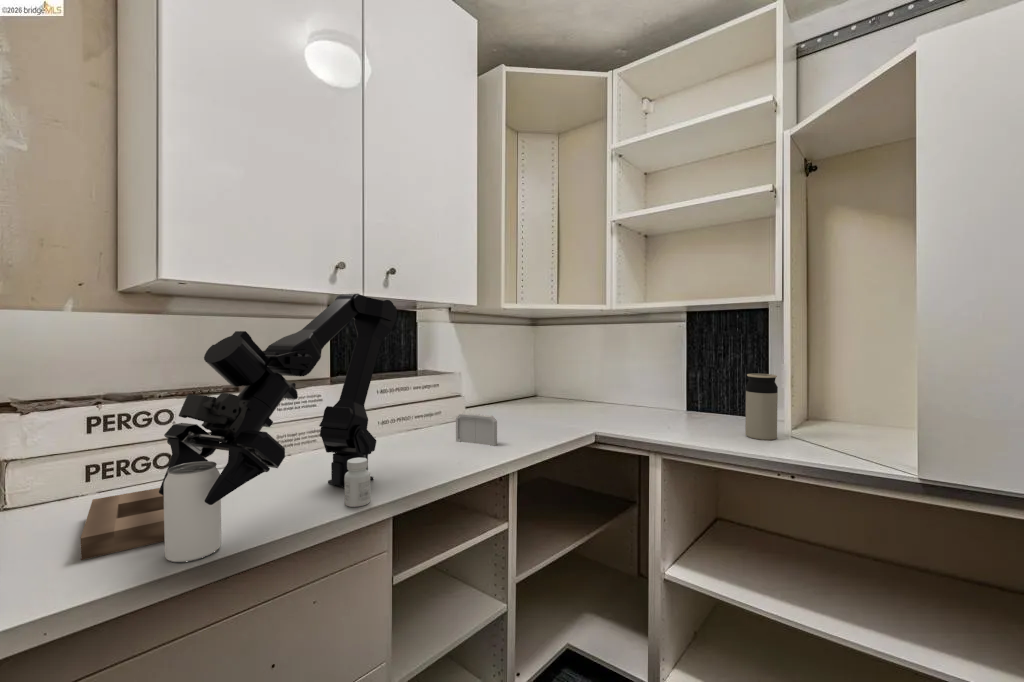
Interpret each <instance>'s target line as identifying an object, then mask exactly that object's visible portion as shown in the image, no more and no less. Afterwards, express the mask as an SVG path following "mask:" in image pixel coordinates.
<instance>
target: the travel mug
mask: <svg viewBox="0 0 1024 682" xmlns="http://www.w3.org/2000/svg"><path fill="white" fill-rule="evenodd" d="M746 376H747V377H748V381H747V383H746V384H745V433H744V434H745V436H746V437H747V438H750V439H754V440H761V441H773V440H776V439H777V438H778V402H779V401H778V396H779V395H778V385H777V383H776V378H777V377H778V375H776V374H772V373H771V374H769V373H747V374H746Z"/></svg>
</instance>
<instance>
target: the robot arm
mask: <svg viewBox="0 0 1024 682" xmlns="http://www.w3.org/2000/svg"><path fill="white" fill-rule="evenodd" d="M397 316H398V309H397V307H396V306H395V305H394V303H393V302H392V300H390V299H378V298H373V297H368V296H365V295H364V294H363V295H362V294H359V293H342V294H339V295H338V296H336V298H335V300H334V301H333V302H332V303H331V304H330V305H328V306H327V307H326V308H325V309H324V310H323V311H321V312H320V313H319V314H318V315H316V316H315V317H314V318H313V319H312V320H311V321H309V323H307V324H306V325H305V326H304V327H303V328H301V330H299V331H297V332H293V333H291V334H288V335H285V336H283V337H281V338H280V339H278V340H276V341H274V342H272V343H271V344H270V345H268V346H266V347H267V348H265V349H264V350H262V349H261V348H260V347H259V346H258V344H256V342H255V341H254V340H253V338H252V337H251V335H250V334H249V333H248V332H247V331H244V330H239V331H238V330H236V331H234V332H233V333H232V334H231V336H227V337H225V338H223V339H220V340H219V341H218V342H216V343H215V344H211V346H210V347H209V348H208V349H207V350H206V352H204V353H205V354H204V357H203V359H204V361H205V363H207V364H208V366H210V368H211V369H213V370H214V371H215V373H217V374H218V375H220V376H221V378H222V379H224V380H225V381H226V382H227V383H228V384H229V385H230V386H232V387H235V388H237V387H242V386H243V388H242V389H241V391H240V392H239V393H238V394H237V395H236V394H233V393H228V392H227V393H226V392H221V393H220V394H219V395H218V396H217V397H215V396H209V395H204V394H203V395H202V394H189V393H188V394H187V395H186V397H185V399H184V401H183V404H182V407H180V408H181V409H180V411H179V413H178V417H179V418H184V419H187V418H189V419H193V420H197V421H200V422H203V423H201V425H198V424H196V423H189V422H188V423H187V422H180V423H173V424H172V425H171V426H170V428H169V429H168V430H167V431H166V432H165V433H164V437H165V438H166V439H167V440H166V442H167V444H168V445H170V450H171V458H170V461H169V463H168V467H167V468H166V472H165V475H164V477H163V479H162V482H161V484H160V487H159V488H160V490H159V493H160V494H161V495H163V496H164V481H165V479H166V477H167V475H168V472H167V470H168V469H170V468H171V467H174V466H177V465H181V464H185V463H191V462H199V461H209V460H208V459H207V458H208V457H210V456H212V455H213V454H214V453H215V451H217V450H219V451H227V452H228V455H227V456H228V457H227V458H228V459H227V463H226V465H225V466H224V467H223V469H222V471H221V472H220V475H219V477H218V479H217V480H216V482H215V483H214V485H213V486H212V488H211V490H210V491H209V493H208V495H207V497H206V499H205V503H207V504H208V505H213V504H214V503H216V502H217V501H219V500H220V499H221V500H222V499H223V498H225V497H226V496H227V495H229V494H230V493H233V491H235V490H237V489H238V488H240V487H241V486H243V485H244V484H246V483H249V481H251V480H253V479H255V478H257V477H258V476H260V475H262V474H263V473H269V472H270V470H271V468H273V469H279V468H280V466H281V464H282V462H283V461H284V459H285V457H286V448H285V447H284V446H283V445H282V444H281V443H279V441H277V440H276V439H275V438H274V437H273V436H272V435H271V434H269V433H268V432H267V431H261V430H262V429H263V428H264V427H265V428H271V427H272V425H273V423H274V421H273V420H272V419H271V416H272V415H273V413H274V411H275V410H276V409H277V408H278V407H279V405H280V404H281V403H282V401H283V399H289V400H296V399H298V398H299V396H298V395H299V394H298V390H297V387H296V385H297V383H295V382H289V381H288V380H287V379H286V378H285V377H305V376H307V375H309V374H310V373H311V372H312V371H313V369H314V368H315V367H316V365H317V364H318V363H319V361H320V360H321V357H322V350H323V348H324V347H325V346H326V345H327V344H328V343H329V342H330V341H331V340H332V339H333V338H335V336H336V335H337V334H338V333H340V331H341V330H343V328H345V327H347V325H348V324H349V323H350V322H352V320H353V324H354V327H355V330H356V333H357V337H356V339H355V343H354V344H355V345H354V348H353V351H352V354H351V358H350V362H349V365H348V368H347V371H346V375H345V379H344V383H343V386H342V389H341V393H340V396H339V399H338V401H337V402H336V403H335V404H334V405H333V406H330V405H327V406H326V407H325V408H324V410H323V411H324V412H323V416H322V419H321V421H320V423H319V424H318V426H319V427H320V430H319V437H321V439H322V444H323V447H324V449H325V452H326V453H332V461H331V463H330V464H331V466H330V467H331V468H330V470H331V471H330V472H331V474H330V475H331V479H329V480H327V484H329V485H333V486H337V487H341V488H344V489H345V480H344V478H345V474H346V473H347V472H348V471H349V470H348V469H347V461H348V460H349V459H352V458H366V459H367V461H368V462H369V455H371V454H372V453H373V452H374V451H376V446H377V439H376V438H375V437H374V436H373V434H372V433H371V432H370V431H369V430H368V425H369V416H368V414H367V411H366V408H365V405H366V399H367V397H368V392H369V388H370V385H371V380H372V378H373V374H374V369H375V366H376V363H377V358H378V356H379V355H378V354H379V351H380V347H381V344H382V341H383V340H384V339H385V338H386V337H388V335H389V334H390V333H391V332H392V330H393V328H394V326H395V323H396V321H397V318H398V317H397ZM284 376H285V377H284ZM201 426H202V427H203V428H204V429H203V428H202V427H201ZM206 430H207V431H208V430H209V431H210V433H209V432H207V431H206ZM366 470H368V471H369V465H368V466H367V468H366ZM372 480H374V476H371V475H370V482H371V481H372Z"/></svg>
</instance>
